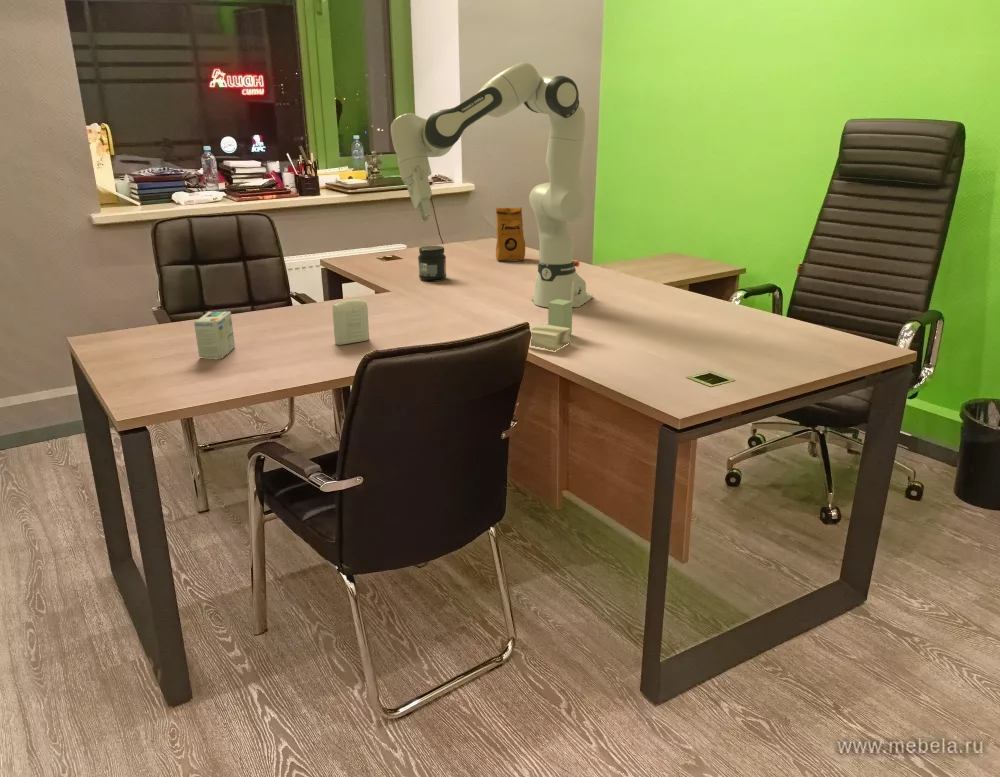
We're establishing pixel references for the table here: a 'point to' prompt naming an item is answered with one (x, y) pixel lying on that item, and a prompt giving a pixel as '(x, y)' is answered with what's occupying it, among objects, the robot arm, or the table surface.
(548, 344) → the base block
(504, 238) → the coffee package
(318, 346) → the table surface
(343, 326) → the photo printer
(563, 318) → the green block
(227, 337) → the light bulb box
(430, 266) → the supplement container
